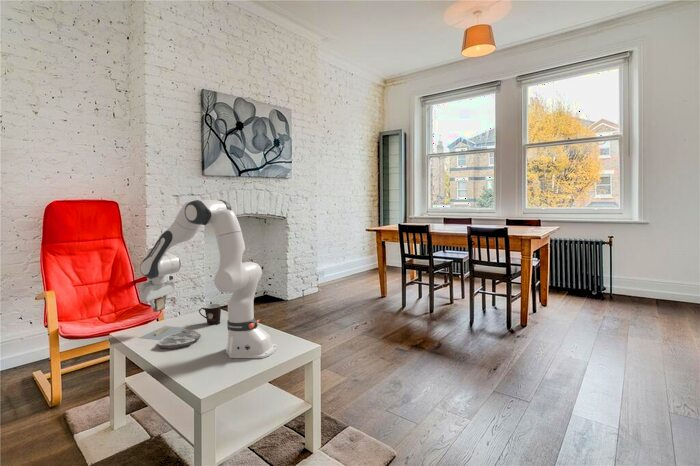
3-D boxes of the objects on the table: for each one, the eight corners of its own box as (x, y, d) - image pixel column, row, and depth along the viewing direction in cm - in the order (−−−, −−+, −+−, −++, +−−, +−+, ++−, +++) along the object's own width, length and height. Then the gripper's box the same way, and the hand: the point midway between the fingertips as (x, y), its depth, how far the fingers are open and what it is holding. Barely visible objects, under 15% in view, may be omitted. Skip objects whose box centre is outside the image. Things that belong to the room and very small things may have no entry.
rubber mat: (187, 328, 196) (187, 327, 196) (162, 341, 178) (162, 340, 178) (165, 326, 199) (165, 325, 199) (138, 338, 182) (138, 337, 182)
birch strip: (169, 329, 193) (169, 327, 193) (156, 335, 185) (156, 333, 184) (167, 329, 193) (167, 327, 193) (154, 335, 185) (154, 333, 185)
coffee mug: (225, 322, 204) (224, 305, 203) (212, 327, 197) (211, 309, 196) (211, 319, 210) (210, 302, 209) (198, 323, 203) (197, 306, 202)
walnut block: (165, 308, 191) (164, 297, 190) (157, 311, 185) (156, 300, 185) (161, 308, 191) (160, 297, 191) (153, 311, 186) (152, 300, 185)
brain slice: (184, 353, 164) (184, 346, 164) (151, 350, 168) (150, 344, 168) (209, 337, 184) (209, 331, 183) (179, 335, 187) (178, 329, 187)
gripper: (146, 283, 176) (148, 312, 177) (176, 275, 196) (178, 300, 197) (135, 283, 177) (137, 311, 179) (166, 274, 197) (168, 300, 198)
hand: (158, 305), depth 188 cm, fingers closed on walnut block, 5 cm apart
